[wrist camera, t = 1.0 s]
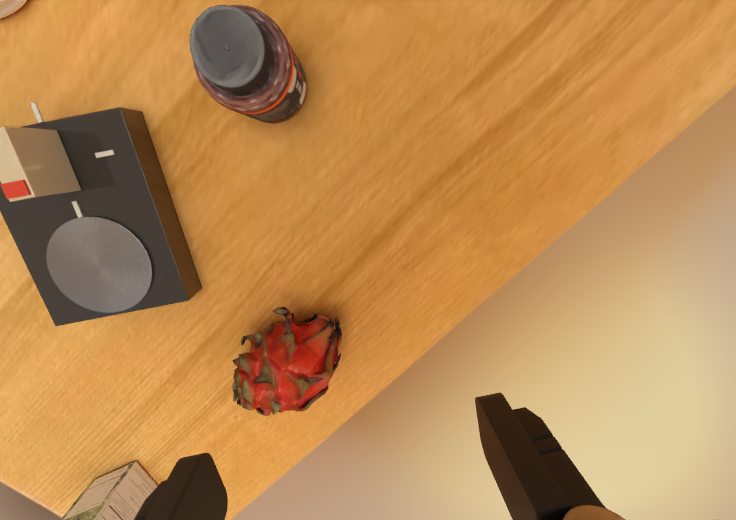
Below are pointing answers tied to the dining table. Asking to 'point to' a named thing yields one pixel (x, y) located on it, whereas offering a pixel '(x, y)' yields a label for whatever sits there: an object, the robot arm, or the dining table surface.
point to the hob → (106, 208)
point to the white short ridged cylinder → (10, 6)
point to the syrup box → (113, 495)
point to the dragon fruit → (287, 365)
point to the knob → (34, 164)
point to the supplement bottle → (247, 63)
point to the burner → (99, 264)
